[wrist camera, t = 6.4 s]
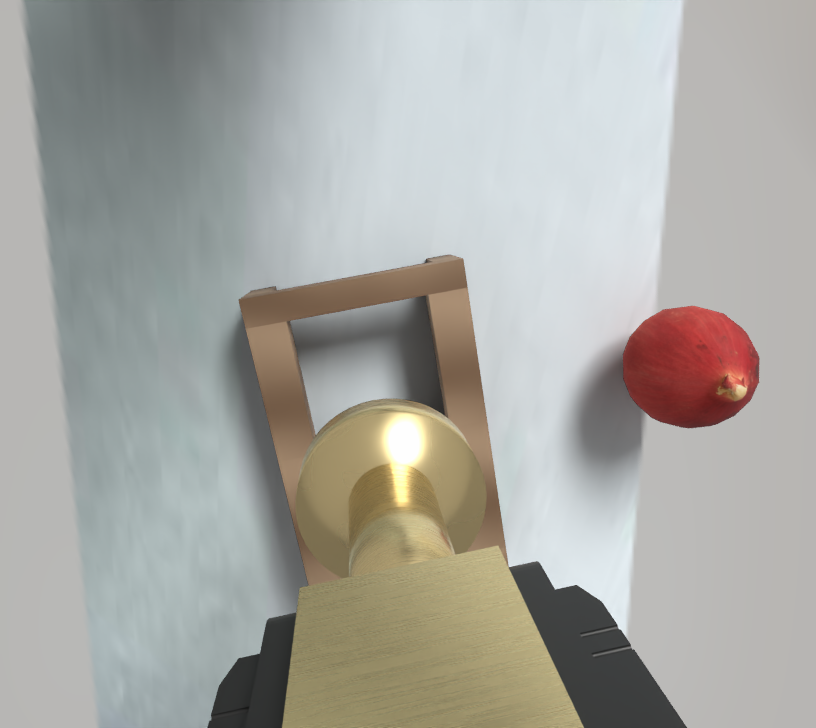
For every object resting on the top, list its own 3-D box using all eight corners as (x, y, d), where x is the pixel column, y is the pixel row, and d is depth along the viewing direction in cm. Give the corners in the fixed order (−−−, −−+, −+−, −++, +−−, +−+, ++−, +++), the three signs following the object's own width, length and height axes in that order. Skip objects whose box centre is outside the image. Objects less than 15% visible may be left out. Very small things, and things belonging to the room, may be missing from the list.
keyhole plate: (251, 290, 29) (238, 299, 25) (449, 254, 30) (463, 258, 26) (326, 602, 33) (323, 646, 30) (496, 565, 34) (514, 604, 30)
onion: (700, 291, 31) (816, 313, 24) (699, 394, 33) (808, 447, 25) (595, 304, 31) (678, 331, 23) (598, 408, 32) (677, 465, 25)
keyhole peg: (281, 418, 15) (119, 909, 4) (462, 382, 15) (738, 762, 5) (319, 578, 16) (268, 1280, 6) (487, 543, 17) (752, 1145, 6)
